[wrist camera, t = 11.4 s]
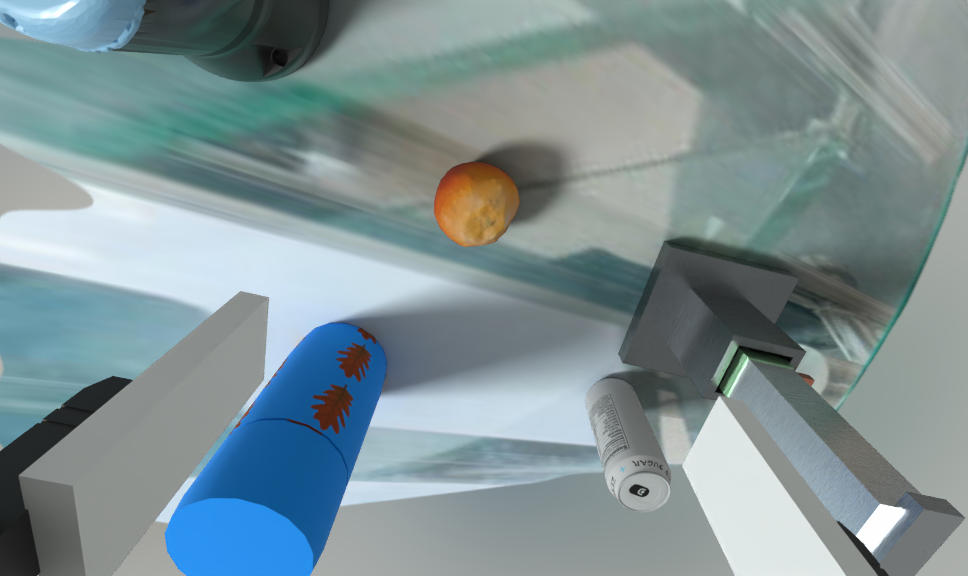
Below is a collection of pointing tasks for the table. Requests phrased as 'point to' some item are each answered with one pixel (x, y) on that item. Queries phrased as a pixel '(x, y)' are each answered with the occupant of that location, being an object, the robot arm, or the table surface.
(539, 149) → the table surface
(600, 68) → the table surface
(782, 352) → the stand base
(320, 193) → the table surface
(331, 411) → the thermos
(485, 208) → the fruit
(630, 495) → the energy drink can
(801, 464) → the column
